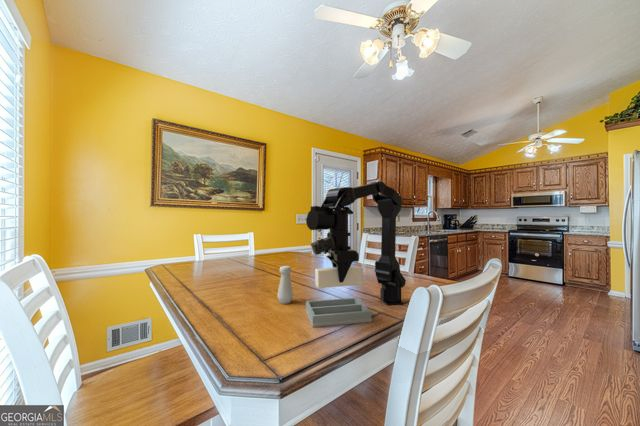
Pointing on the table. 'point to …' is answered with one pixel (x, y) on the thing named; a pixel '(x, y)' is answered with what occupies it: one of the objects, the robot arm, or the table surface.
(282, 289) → the salt shaker
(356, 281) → the cream rectangular block
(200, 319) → the table surface
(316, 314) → the divided grey tray
